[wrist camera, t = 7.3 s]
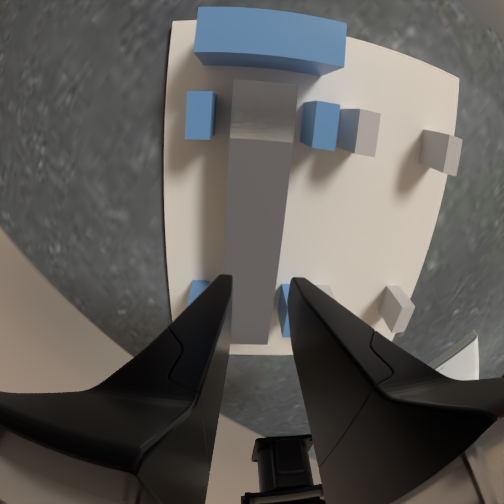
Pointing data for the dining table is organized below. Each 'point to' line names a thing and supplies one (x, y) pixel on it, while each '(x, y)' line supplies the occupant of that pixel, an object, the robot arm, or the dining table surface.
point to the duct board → (310, 161)
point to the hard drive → (460, 360)
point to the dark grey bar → (257, 201)
